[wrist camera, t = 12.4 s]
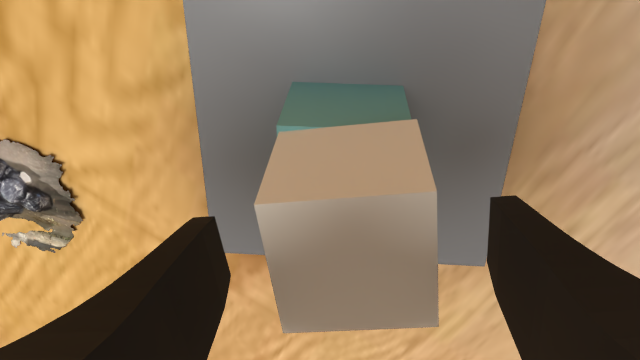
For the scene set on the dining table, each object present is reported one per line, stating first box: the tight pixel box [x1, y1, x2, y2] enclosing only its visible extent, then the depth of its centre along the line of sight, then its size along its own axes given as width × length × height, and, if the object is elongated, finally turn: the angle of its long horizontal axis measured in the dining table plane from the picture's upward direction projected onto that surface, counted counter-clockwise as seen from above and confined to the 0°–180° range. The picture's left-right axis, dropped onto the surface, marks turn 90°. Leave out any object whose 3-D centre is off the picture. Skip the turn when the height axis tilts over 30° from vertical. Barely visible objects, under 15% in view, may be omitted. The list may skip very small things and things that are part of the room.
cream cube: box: [254, 119, 439, 333], centre depth 13 cm, size 4×4×4 cm
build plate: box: [183, 0, 546, 266], centre depth 19 cm, size 12×12×1 cm
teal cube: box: [276, 82, 412, 136], centre depth 17 cm, size 4×4×4 cm
